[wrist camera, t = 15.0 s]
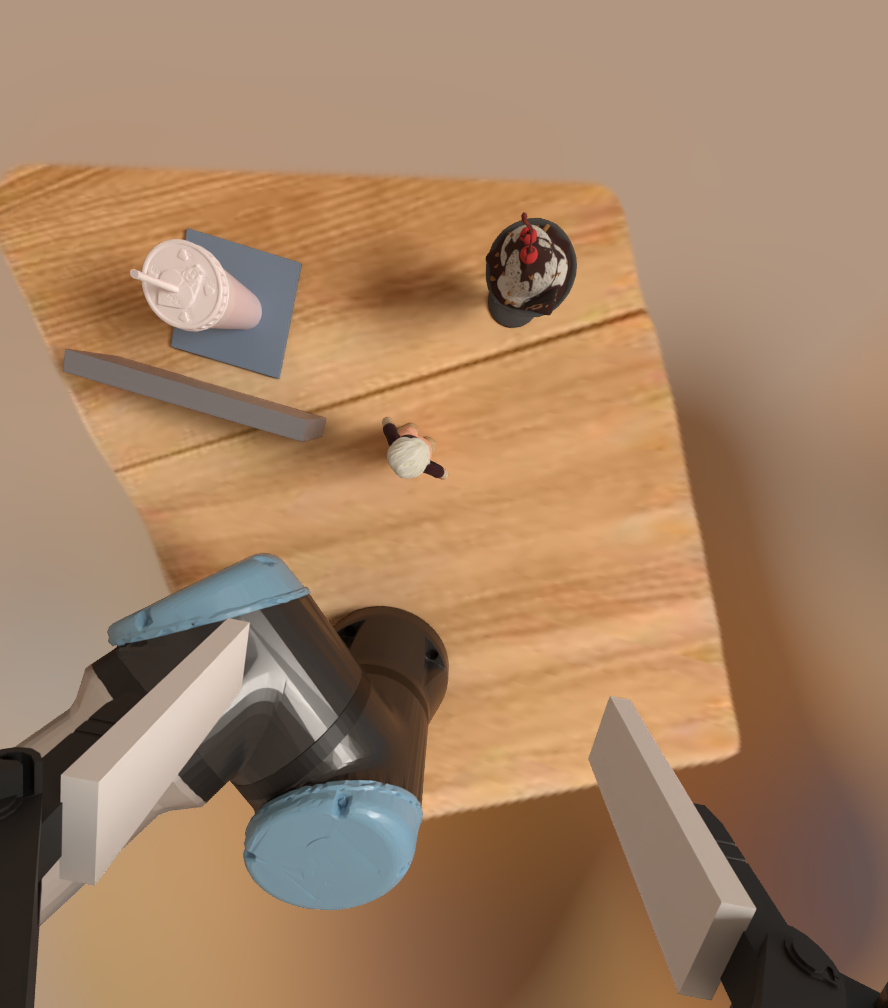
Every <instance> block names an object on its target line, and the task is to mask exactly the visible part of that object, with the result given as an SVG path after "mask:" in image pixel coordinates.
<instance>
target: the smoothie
mask: <svg viewBox="0 0 888 1008" xmlns="http://www.w3.org/2000/svg"><path fill="white" fill-rule="evenodd" d="M130 274H131V276H132V277H133V278H135V279H137V280H140V281H141V282H142V288H143V292H144V296H145V298H146V300H147V302H148V304H149V306H150V307H151V309H152V310H153V311H154V313H155V314H156V315H157V316H158V317H159V318H160V319H162V320H163V321H164V322H166V323H167V324H169V325H171V326H174V327H177V328H180V329H183V330H186V331H197V332H198V331H202V330H206V329H208V328H216V329H239V330H248V329H251V328H253V327H255V326H256V325H257V324H258V323H259V321H260V319H261V316H262V308H261V304H260V301H259V300H258V298H257V297H256V296H255V295H254V294H253V293H252V292H251V291H250V290H248V289H247V288H246V287H245V286H244V285H242V284H241V283H240V282H239V281H238V280H236V279H235V278H234V277H233V276H232V275H230V274H229V273H228V272H227V271H226V270H224V269H223V268H222V266H221V264H220V262H219V261H218V260H217V259H216V258H215V257H214V256H213V255H212V254H211V253H210V252H209V251H207V250H206V249H204V248H203V247H201V246H199V245H196V244H194V243H192V242H189V241H186V240H180V239H172V240H167V241H164V242H162V243H160V244H158V245H157V246H155V247H154V248H153V249H152V250H151V251H150V252H149V254H148V255H147V257H146V259H145V261H144V264H143V268H142V272H140V271H137V270H135V269H133V270H131V272H130Z"/></svg>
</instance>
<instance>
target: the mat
mask: <svg viewBox="0 0 888 1008" xmlns="http://www.w3.org/2000/svg"><path fill="white" fill-rule="evenodd" d="M185 240H186V241H189V242H192V243H194V244H196V245H199V246H201V247H203V248H204V249H206V250H207V251H209V252H210V253H211V254H212V255H213V256H214V257H215V258H216V259H217V260H218V261H219V262H220V264H221V266H222V268H223V269H224V270H226V271H227V272H228V273H229V274H230V275H232V276H233V277H234V278H235V279H236V280H238V281H239V282H240V283H241V284H242V285H244V286H245V287H246V288H247V289H248V290H250V291H251V292H252V293H253V294H254V295H255V296H256V297H257V298H258V300H259V301H260V304H261V308H262V316H261V319H260V321H259V323H258V324H257V325H256V326H255V327H253V328H251V329H248V330H239V329H216V328H208V329H206V330H202V331H198V332H197V331H186V330H183V329H180V328H177V327H174V329H173V336H172V344H171V347H174V348H178V349H181V350H185V351H188V352H191V353H195V354H198V355H201V356H205V357H208V358H211V359H215V360H218V361H221V362H225V363H228V364H231V365H235V366H238V367H242V368H245V369H248V370H252V371H255V372H258V373H262V374H265V375H268V376H272V377H275V378H279V379H280V373H281V368H282V363H283V358H284V353H285V348H286V342H287V337H288V332H289V327H290V322H291V317H292V312H293V306H294V301H295V296H296V291H297V286H298V281H299V275H300V270H301V265H302V264H301V263H299V262H296V261H292V260H289V259H286V258H283V257H279V256H276V255H273V254H270V253H266V252H263V251H260V250H257V249H253V248H250V247H247V246H244V245H240V244H237V243H234V242H231V241H228V240H224V239H221V238H218V237H215V236H211V235H208V234H205V233H202V232H198V231H195V230H192V229H189V228H187V232H186V239H185Z"/></svg>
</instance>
